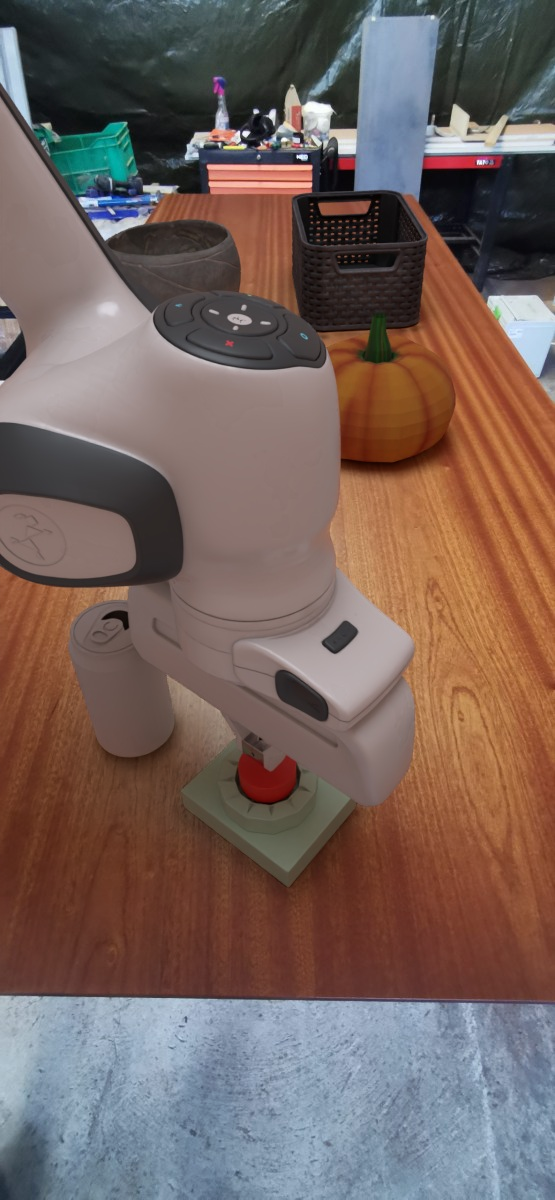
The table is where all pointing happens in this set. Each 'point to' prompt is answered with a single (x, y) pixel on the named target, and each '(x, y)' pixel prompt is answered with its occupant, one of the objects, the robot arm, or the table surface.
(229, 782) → the control block
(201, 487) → the robot arm
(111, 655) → the beverage can
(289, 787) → the button
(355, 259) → the storage bin
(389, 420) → the pumpkin
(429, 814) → the table surface
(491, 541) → the table surface
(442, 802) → the table surface
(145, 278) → the bowl
